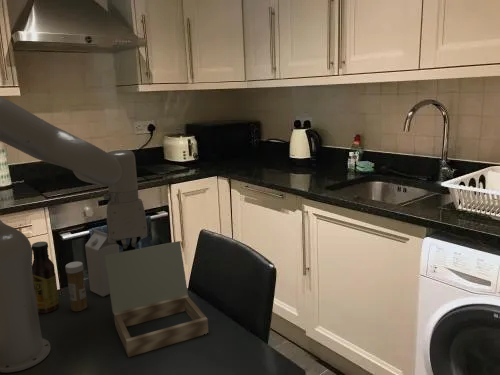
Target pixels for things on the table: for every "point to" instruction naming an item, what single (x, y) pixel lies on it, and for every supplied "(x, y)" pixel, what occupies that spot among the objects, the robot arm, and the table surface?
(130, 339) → the brown wooden tray
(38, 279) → the sauce bottle
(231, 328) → the table surface
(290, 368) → the table surface
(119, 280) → the panel
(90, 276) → the milk carton
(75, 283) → the sprinkles bottle
